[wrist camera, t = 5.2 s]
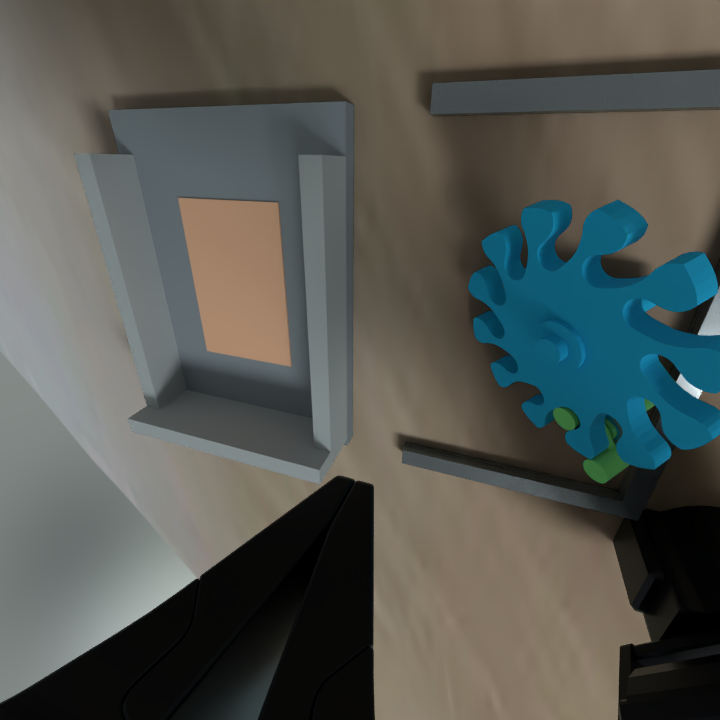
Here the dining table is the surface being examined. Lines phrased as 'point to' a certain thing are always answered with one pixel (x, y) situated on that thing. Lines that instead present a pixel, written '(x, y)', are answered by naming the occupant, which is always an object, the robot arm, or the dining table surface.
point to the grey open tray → (235, 275)
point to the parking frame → (710, 319)
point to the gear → (599, 337)
